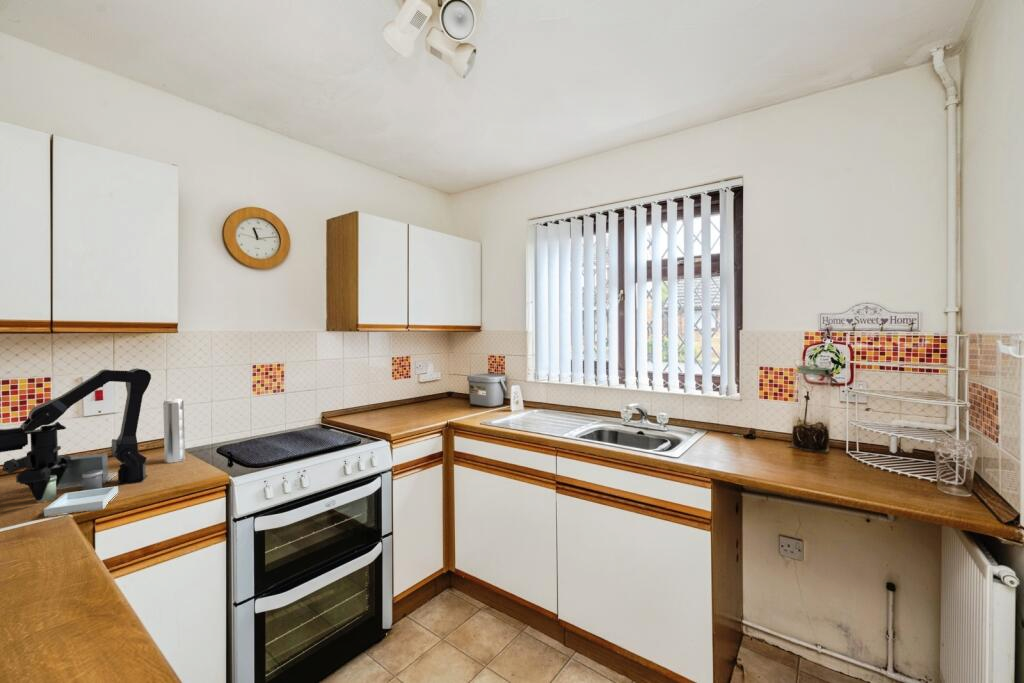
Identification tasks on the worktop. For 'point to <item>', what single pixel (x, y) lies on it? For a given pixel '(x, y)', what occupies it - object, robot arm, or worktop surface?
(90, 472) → the grey cup
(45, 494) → the cylinder
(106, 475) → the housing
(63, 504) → the tray
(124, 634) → the worktop surface
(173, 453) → the silver metal cylinder
